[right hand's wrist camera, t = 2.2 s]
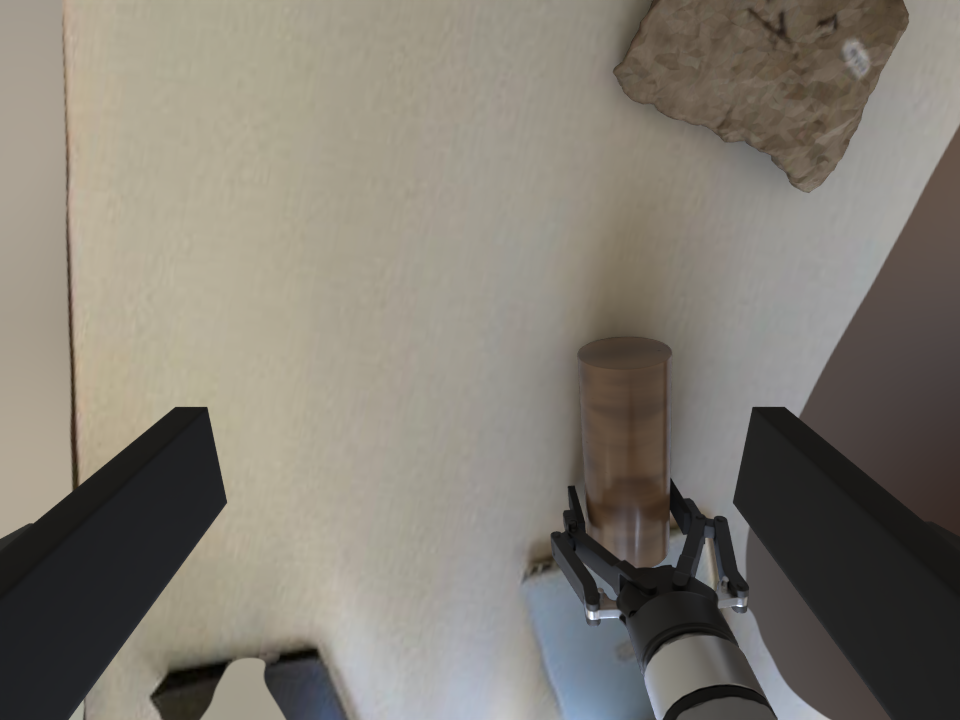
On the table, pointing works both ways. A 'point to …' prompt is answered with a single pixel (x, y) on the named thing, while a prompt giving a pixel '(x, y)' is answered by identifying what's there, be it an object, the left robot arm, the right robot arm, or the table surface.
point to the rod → (627, 446)
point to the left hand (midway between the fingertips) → (618, 491)
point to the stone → (766, 72)
